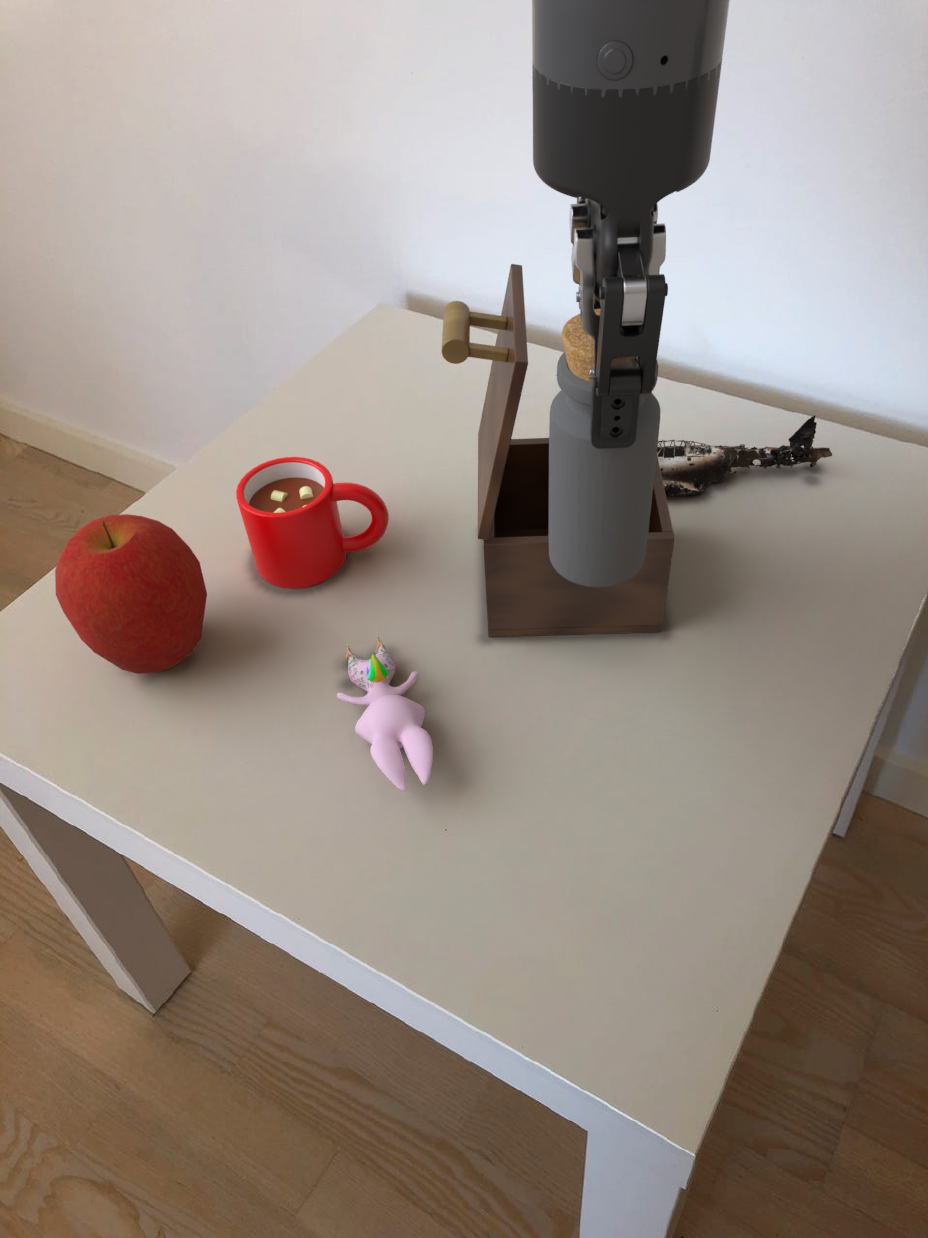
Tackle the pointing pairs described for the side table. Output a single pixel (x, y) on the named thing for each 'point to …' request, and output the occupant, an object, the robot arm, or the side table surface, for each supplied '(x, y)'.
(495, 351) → the lid
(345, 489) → the mug
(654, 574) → the chest
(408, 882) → the side table surface
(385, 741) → the pink creature figurine
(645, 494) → the bottle
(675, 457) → the airplane wreck
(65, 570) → the apple
